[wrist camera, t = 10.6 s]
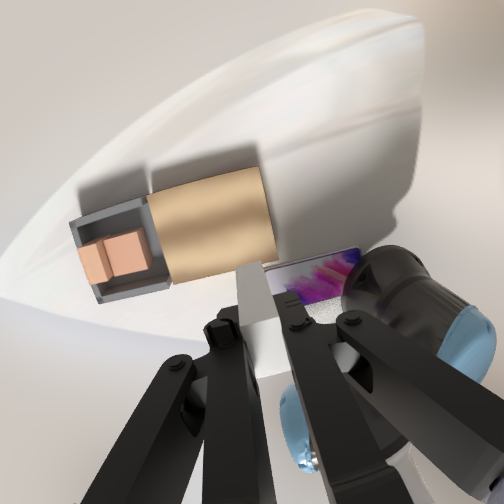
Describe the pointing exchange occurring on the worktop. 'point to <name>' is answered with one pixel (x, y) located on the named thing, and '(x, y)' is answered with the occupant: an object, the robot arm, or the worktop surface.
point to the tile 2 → (128, 251)
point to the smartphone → (314, 275)
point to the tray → (116, 222)
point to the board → (213, 225)
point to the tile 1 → (95, 260)
